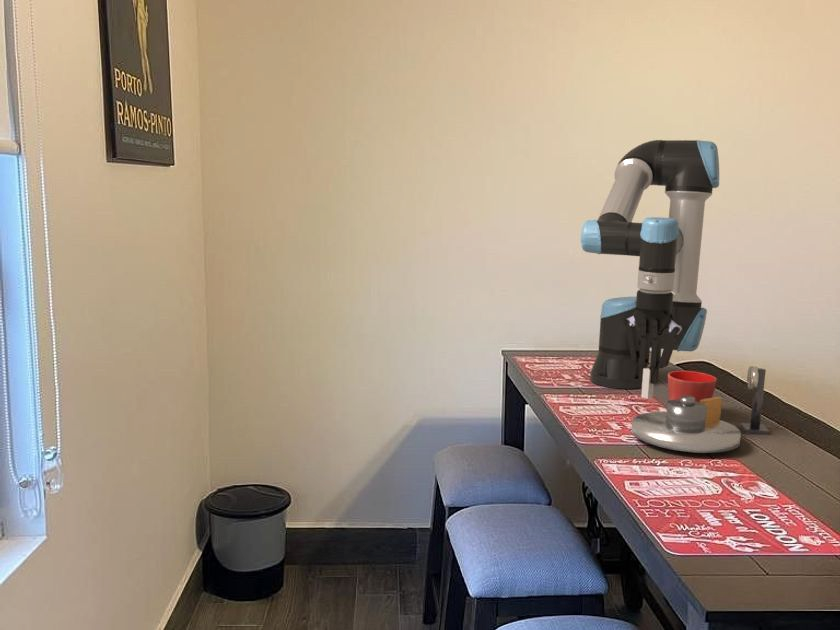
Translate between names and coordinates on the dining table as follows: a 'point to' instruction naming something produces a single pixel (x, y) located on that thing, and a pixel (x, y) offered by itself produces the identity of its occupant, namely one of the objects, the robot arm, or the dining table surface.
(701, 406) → the cover
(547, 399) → the dining table surface
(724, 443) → the turntable
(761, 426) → the dial post
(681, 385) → the flower pot
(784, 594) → the dining table surface
